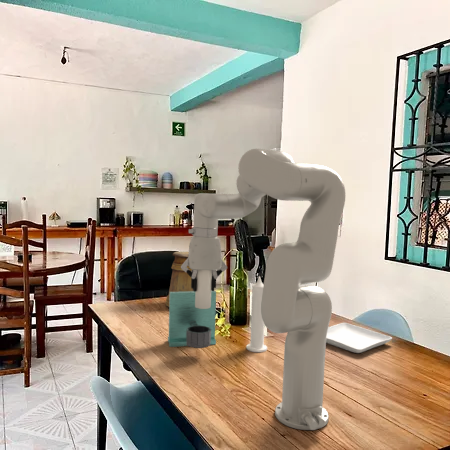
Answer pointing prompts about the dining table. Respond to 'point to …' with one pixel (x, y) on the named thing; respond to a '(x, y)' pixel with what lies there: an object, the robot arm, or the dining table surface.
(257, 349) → the candle
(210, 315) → the cup bracket
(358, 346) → the salad plate
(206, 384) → the dining table surface
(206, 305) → the white cylinder
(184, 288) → the tankard
